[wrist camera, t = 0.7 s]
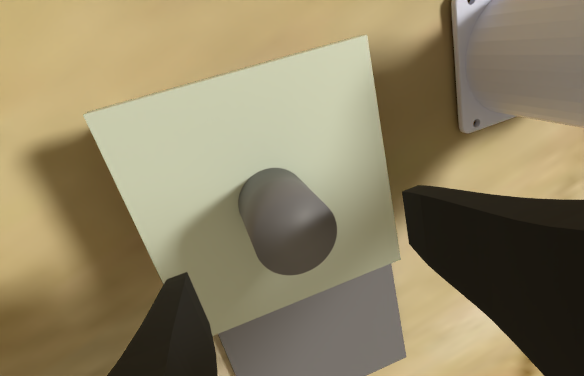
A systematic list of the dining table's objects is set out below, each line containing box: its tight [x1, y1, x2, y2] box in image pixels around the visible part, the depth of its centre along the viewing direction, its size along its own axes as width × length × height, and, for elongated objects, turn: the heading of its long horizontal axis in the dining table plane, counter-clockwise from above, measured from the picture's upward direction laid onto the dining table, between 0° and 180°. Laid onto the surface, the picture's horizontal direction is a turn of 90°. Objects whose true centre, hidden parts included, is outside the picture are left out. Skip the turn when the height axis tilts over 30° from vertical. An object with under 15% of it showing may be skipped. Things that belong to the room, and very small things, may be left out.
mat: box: [218, 264, 406, 376], centre depth 25 cm, size 12×12×1 cm
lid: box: [83, 35, 401, 336], centre depth 15 cm, size 11×11×4 cm
